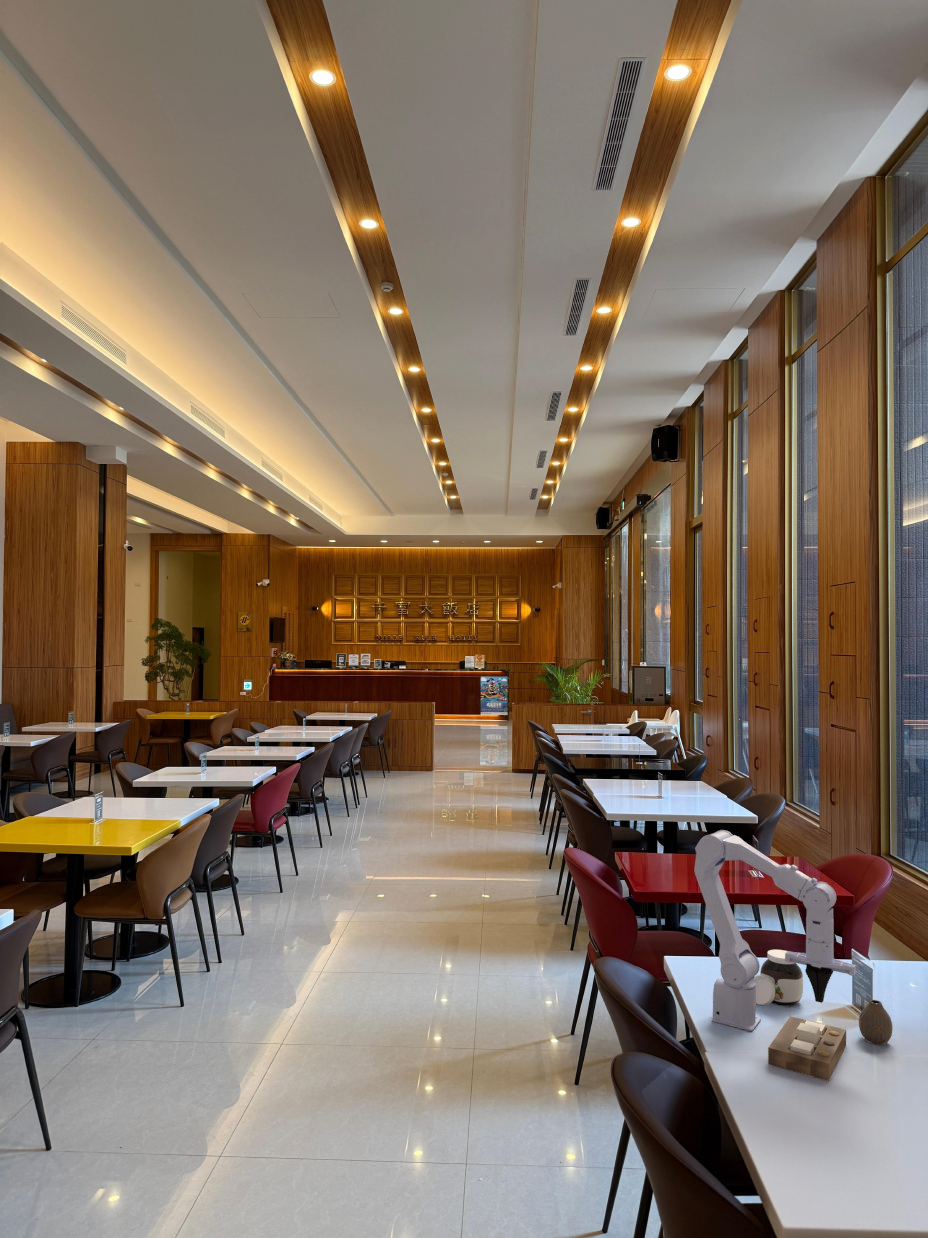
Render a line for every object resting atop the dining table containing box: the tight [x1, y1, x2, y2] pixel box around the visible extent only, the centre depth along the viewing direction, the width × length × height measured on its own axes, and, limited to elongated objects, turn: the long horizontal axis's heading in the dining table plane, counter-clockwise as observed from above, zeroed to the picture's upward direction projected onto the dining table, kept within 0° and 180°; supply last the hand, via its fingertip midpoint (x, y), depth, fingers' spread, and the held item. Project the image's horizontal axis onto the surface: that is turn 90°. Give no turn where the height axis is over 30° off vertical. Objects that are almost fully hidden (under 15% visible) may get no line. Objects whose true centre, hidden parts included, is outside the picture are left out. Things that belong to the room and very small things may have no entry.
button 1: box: [790, 1039, 814, 1056], centre depth 178 cm, size 4×4×4 cm
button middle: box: [797, 1023, 820, 1045], centre depth 183 cm, size 4×4×4 cm
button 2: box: [805, 1020, 826, 1035], centre depth 188 cm, size 4×4×4 cm
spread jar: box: [754, 949, 804, 1007], centre depth 212 cm, size 12×11×12 cm
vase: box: [858, 999, 894, 1046], centre depth 191 cm, size 7×7×9 cm
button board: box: [767, 1016, 847, 1082], centre depth 183 cm, size 12×20×4 cm, turn 146°
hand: (819, 1001), depth 189 cm, fingers closed
